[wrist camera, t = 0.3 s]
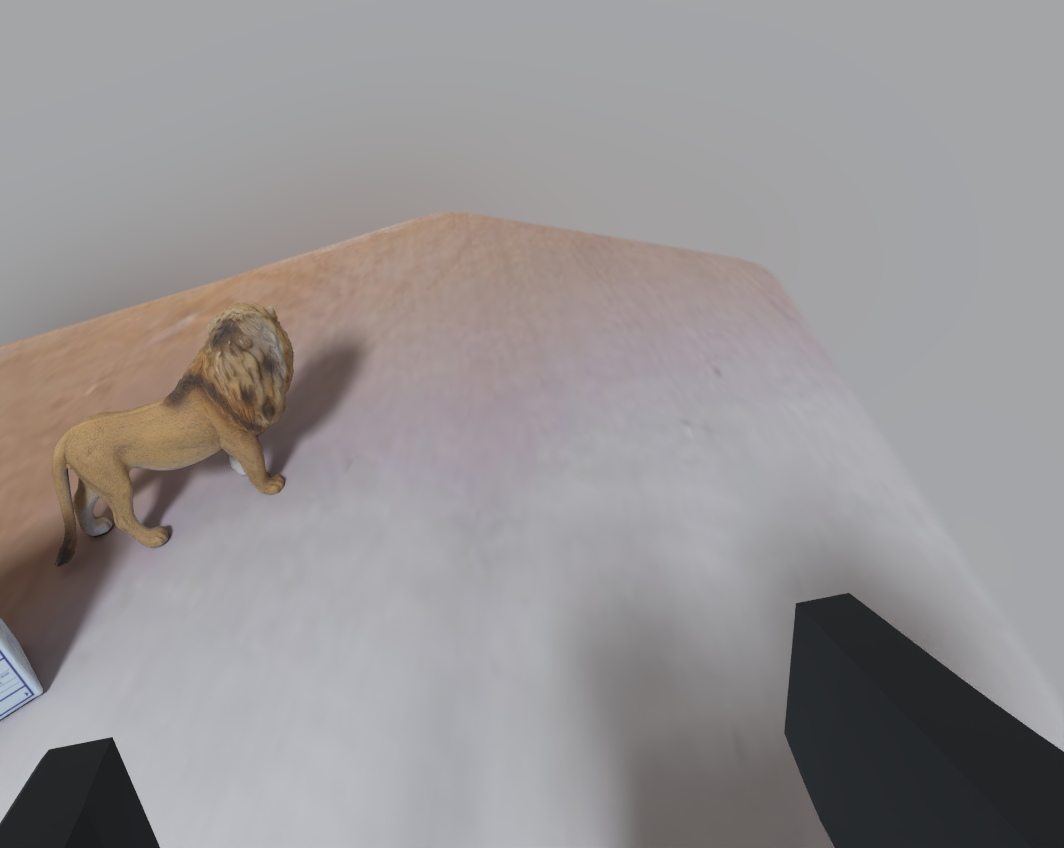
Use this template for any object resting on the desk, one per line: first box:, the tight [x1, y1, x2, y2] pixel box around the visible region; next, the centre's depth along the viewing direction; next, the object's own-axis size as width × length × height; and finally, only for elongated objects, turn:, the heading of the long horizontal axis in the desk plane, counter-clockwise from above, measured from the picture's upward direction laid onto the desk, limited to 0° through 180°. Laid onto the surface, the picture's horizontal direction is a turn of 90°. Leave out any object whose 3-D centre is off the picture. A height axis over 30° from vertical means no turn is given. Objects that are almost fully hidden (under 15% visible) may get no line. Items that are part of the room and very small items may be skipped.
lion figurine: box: [52, 304, 294, 567], centre depth 48 cm, size 15×5×9 cm, turn 124°
